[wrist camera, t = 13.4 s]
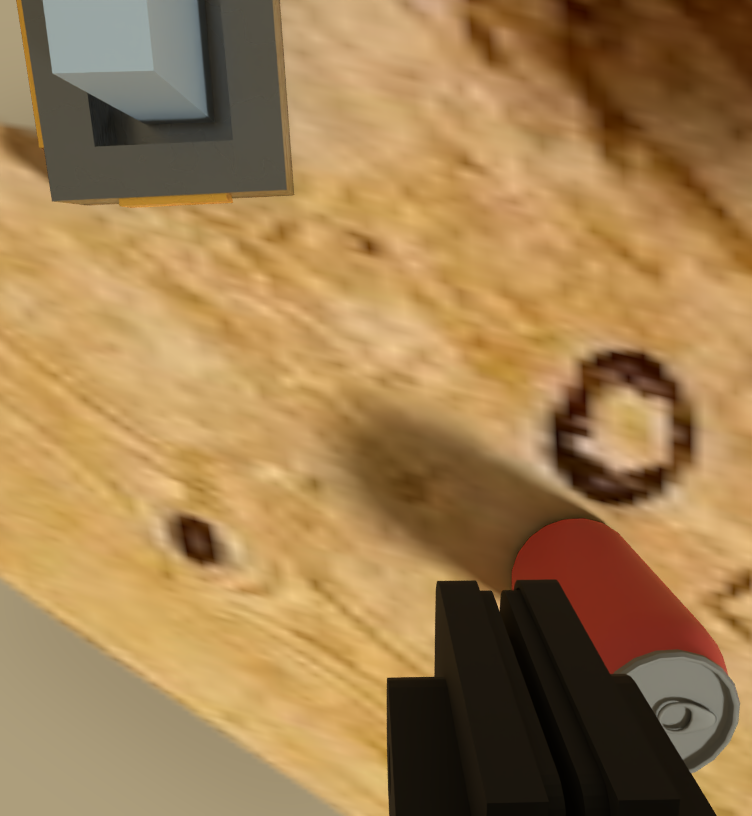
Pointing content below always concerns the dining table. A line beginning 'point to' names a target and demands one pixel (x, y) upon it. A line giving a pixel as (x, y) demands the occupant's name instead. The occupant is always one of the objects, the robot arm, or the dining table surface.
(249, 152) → the rack
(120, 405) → the dining table surface
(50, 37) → the block
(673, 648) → the beer can
